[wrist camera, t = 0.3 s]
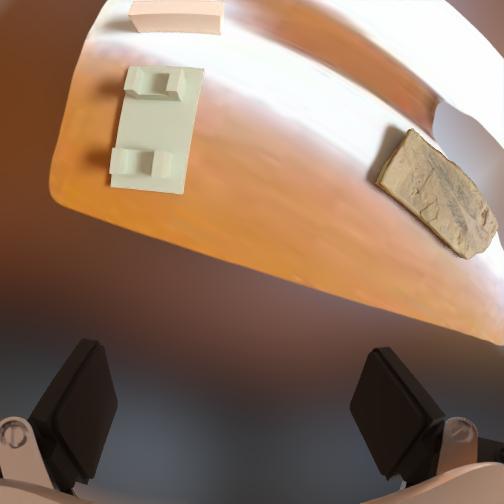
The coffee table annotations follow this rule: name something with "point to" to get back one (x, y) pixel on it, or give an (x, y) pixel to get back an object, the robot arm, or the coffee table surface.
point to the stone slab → (439, 195)
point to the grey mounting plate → (156, 128)
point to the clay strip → (178, 16)
